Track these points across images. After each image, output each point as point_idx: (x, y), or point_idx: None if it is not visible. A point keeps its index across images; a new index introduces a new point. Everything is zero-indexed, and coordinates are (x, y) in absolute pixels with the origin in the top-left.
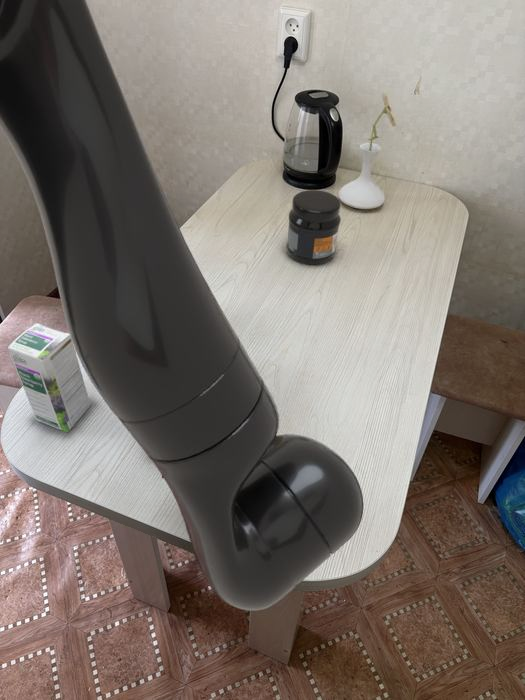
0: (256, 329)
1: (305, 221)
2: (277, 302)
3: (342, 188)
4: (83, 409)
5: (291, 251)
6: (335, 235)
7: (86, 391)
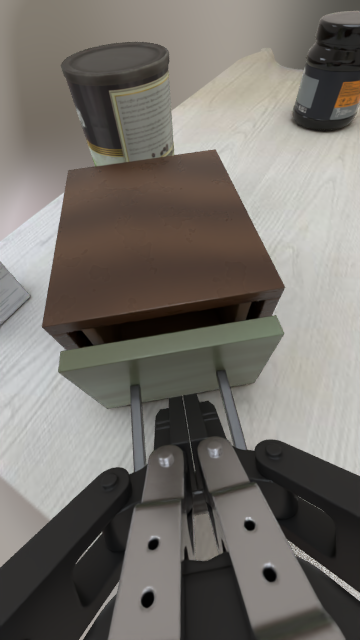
0: (261, 201)
1: (336, 51)
2: (286, 170)
3: None
4: (14, 302)
5: (301, 114)
6: None
7: (12, 276)
